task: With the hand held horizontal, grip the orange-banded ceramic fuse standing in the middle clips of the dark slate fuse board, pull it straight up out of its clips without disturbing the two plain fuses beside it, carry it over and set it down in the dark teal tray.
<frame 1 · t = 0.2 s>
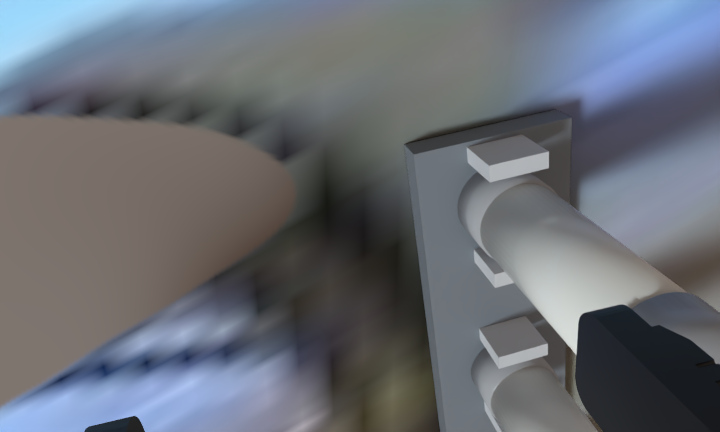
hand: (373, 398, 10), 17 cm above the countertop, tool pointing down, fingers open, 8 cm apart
fuse 2: (497, 201, 28), point 1 cm above the countertop, touching fuse board
fuse board: (493, 348, 34), on the countertop
fuse marked: (504, 364, 33), point 1 cm above the countertop, touching fuse board
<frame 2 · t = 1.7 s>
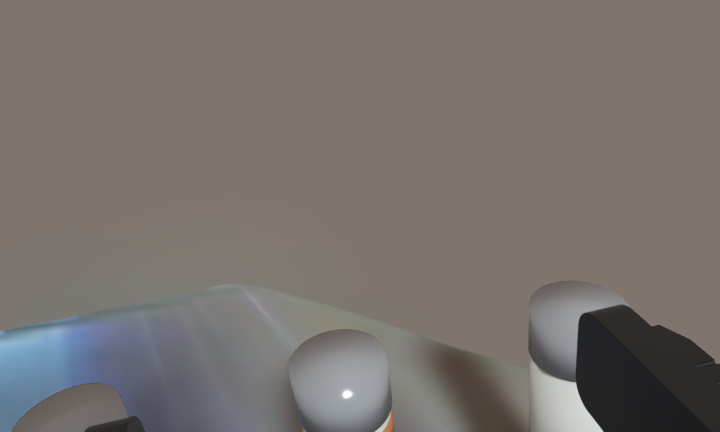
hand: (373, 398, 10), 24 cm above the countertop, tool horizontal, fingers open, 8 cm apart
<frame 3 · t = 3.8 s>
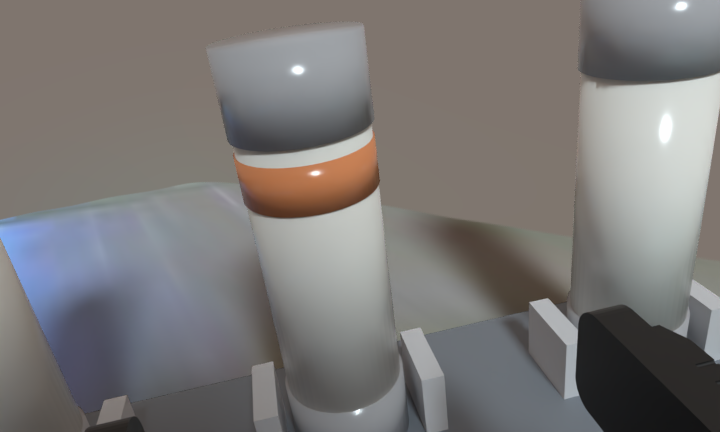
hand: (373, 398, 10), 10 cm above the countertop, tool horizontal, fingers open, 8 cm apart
fuse 1: (620, 355, 22), point 1 cm above the countertop, touching fuse board
fuse marked: (352, 422, 21), point 2 cm above the countertop, touching fuse board
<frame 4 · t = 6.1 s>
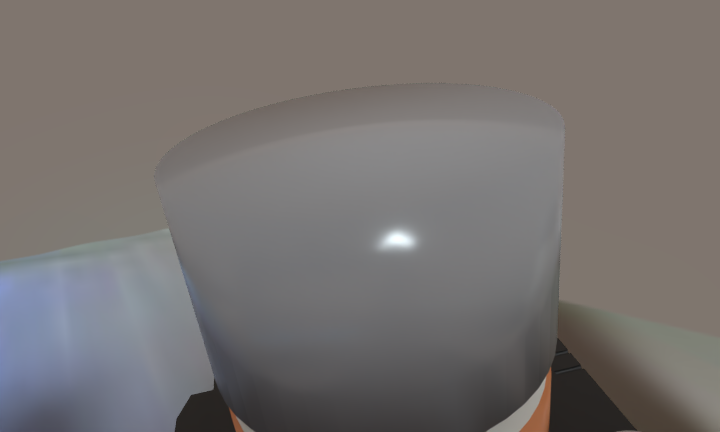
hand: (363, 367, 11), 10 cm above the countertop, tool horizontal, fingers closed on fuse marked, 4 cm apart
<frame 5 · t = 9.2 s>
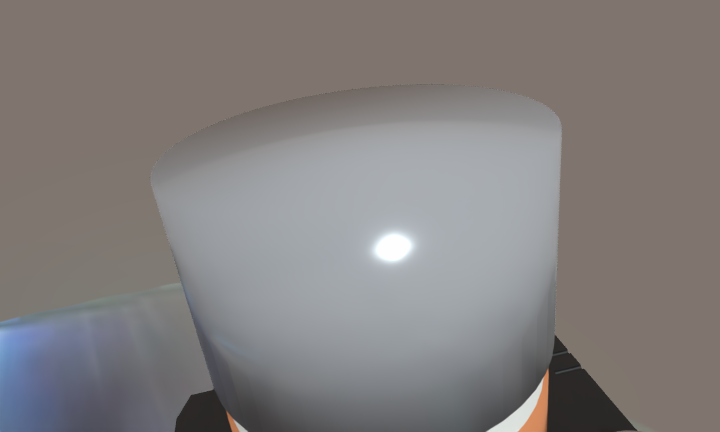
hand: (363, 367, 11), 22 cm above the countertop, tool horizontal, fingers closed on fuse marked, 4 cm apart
when the fingers open (11 cm above the countertop, at t = 12.3 s): fuse marked drops 1 cm, resting on tray.
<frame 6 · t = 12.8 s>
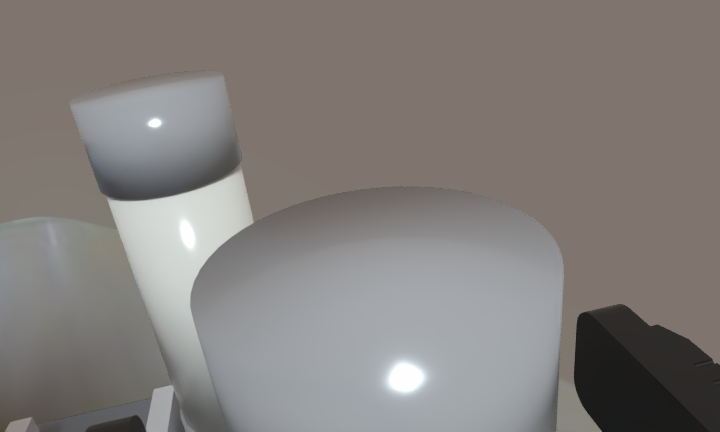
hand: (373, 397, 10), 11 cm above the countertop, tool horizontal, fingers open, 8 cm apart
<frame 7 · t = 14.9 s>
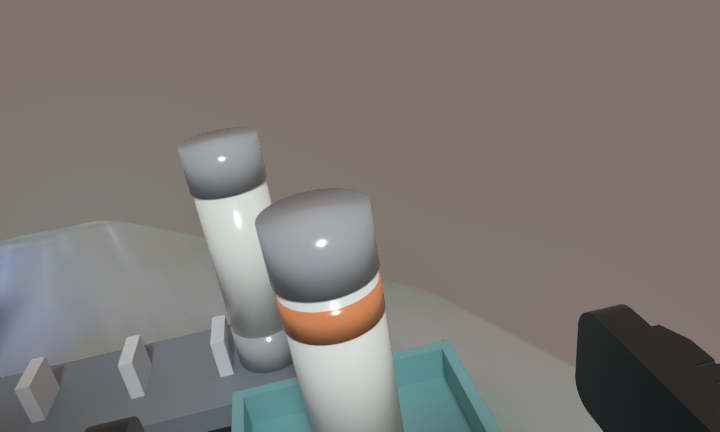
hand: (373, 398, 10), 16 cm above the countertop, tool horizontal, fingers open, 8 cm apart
fuse 1: (272, 350, 35), point 1 cm above the countertop, touching fuse board
fuse board: (102, 411, 34), on the countertop
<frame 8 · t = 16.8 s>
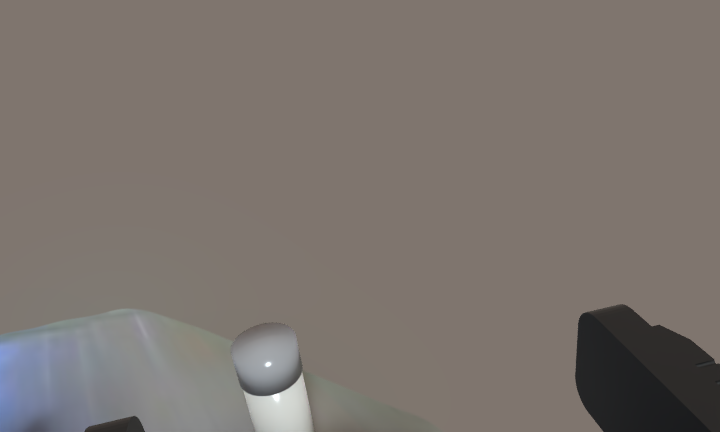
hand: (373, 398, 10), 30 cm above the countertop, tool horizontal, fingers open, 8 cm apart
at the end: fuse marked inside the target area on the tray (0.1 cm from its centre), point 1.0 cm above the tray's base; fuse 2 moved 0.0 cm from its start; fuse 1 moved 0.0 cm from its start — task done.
